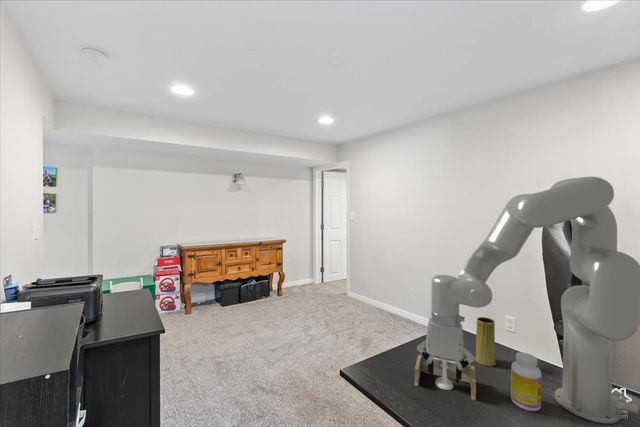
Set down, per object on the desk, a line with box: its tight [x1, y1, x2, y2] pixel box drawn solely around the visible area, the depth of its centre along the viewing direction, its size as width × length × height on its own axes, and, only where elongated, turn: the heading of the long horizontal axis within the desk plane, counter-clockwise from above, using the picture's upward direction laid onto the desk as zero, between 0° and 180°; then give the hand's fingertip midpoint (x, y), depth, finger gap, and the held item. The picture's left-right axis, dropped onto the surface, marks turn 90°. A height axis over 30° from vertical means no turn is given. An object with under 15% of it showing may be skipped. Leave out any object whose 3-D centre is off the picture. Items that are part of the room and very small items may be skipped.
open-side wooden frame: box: [414, 353, 477, 401], centre depth 87 cm, size 16×9×5 cm, turn 65°
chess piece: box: [435, 357, 454, 391], centre depth 87 cm, size 5×5×10 cm
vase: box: [474, 316, 497, 367], centre depth 99 cm, size 6×6×14 cm
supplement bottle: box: [510, 351, 543, 412], centre depth 78 cm, size 7×7×13 cm
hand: (444, 377), depth 87 cm, fingers open, 6 cm apart
